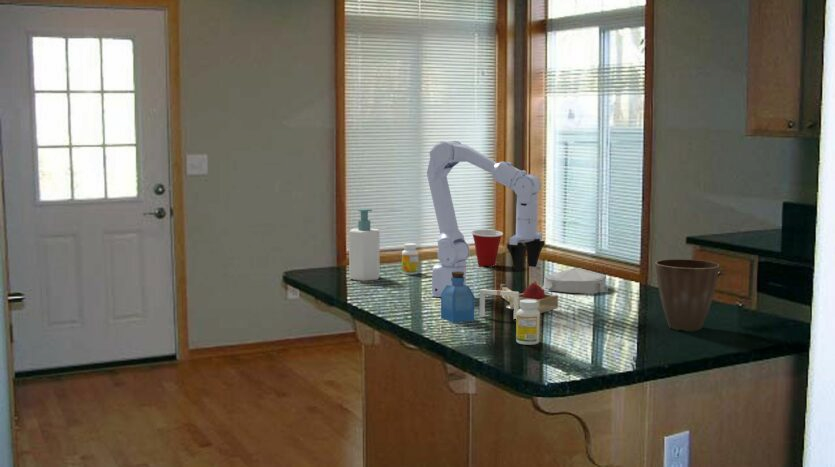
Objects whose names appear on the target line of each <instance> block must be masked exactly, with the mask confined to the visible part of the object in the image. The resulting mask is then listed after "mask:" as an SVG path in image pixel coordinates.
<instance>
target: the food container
mask: <svg viewBox="0 0 835 467" xmlns="http://www.w3.org/2000/svg"><path fill="white" fill-rule="evenodd" d="M606 279H607V275H606V274H603V273H600V272H596V271H591V270H587V269H583V268H578V267H571V268H569V269H565V270H561V271H558V272H554V273H551V274H546V275H544V276H543V280H544V281H543V285H542V287H541V288H542V289H543V291H547V292H554V291H555V292H561V293H571V294H587V295H588V294H589V295H593V294H594V295H595V294H598V293H606V292H609V287H608V286H607V285H606Z"/></svg>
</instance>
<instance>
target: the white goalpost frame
mask: <svg viewBox="0 0 835 467" xmlns="http://www.w3.org/2000/svg"><path fill="white" fill-rule="evenodd" d="M519 294H520V292H519V291H516V290H515V291H513V290H511V291H502V290H500V289H498V290H496V289H485V288H483V289H482V288H481V289H480V290H479V318H484V317H485V316H486V306H485V305H486V295H492V296H500V295H503V296H514V310H513V320H514V319H516V317H517V311H518V310H519Z"/></svg>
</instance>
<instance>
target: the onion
mask: <svg viewBox="0 0 835 467" xmlns="http://www.w3.org/2000/svg"><path fill="white" fill-rule="evenodd" d="M544 291H545V290H544V289H542V287H541V286H540V285H538V282H537V280H533V281H532V282H531V284H530V285H528V286H527V287H526V288H525V289H524V291H523V293H524V294H523V298H530V299H536V300H539V299H543V298H545V294H546V293H545V292H544Z"/></svg>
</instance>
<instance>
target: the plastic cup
mask: <svg viewBox="0 0 835 467" xmlns="http://www.w3.org/2000/svg"><path fill="white" fill-rule="evenodd" d="M471 234H472V236H473V237H472V238H473V241H474V250H475V254H476V260H477V264H478V265H479V267H481V266H493V265H495V266H496V263H497V257H498V252H499V248H500V242H501V239H502V236H503V235H504V233H503V232H502V231H499V230H495V229H475V230H472V231H471Z"/></svg>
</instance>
